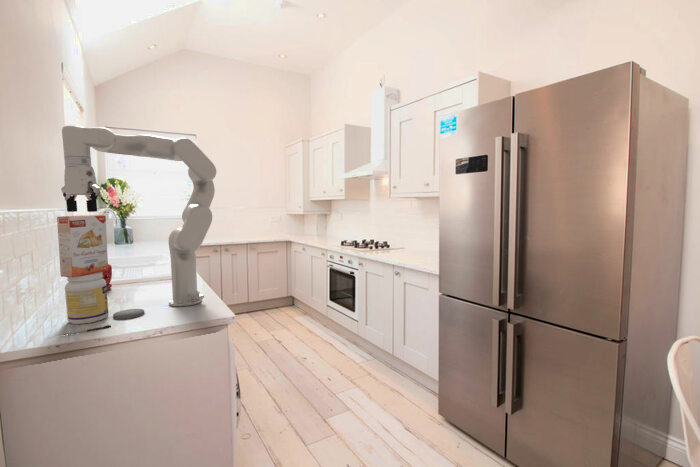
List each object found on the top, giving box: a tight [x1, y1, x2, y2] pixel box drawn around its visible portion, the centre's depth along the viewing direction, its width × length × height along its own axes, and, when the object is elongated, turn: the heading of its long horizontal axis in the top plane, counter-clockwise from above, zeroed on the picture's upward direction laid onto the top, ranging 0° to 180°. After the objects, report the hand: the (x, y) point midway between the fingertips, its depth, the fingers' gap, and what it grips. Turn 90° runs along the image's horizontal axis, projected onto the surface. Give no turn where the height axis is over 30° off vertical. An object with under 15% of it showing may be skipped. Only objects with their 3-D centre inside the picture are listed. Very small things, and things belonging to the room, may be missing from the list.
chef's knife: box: [68, 324, 112, 336], centre depth 119 cm, size 19×1×3 cm
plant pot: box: [102, 263, 113, 291], centre depth 175 cm, size 13×13×12 cm
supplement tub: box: [64, 272, 109, 325], centre depth 131 cm, size 12×12×17 cm
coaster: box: [112, 308, 145, 321], centre depth 137 cm, size 10×10×1 cm
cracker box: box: [56, 214, 109, 278], centre depth 130 cm, size 14×6×21 cm, turn 167°
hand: (82, 211), depth 129 cm, fingers open, 9 cm apart
